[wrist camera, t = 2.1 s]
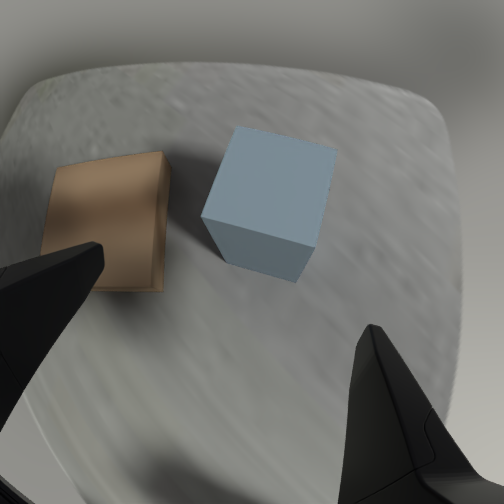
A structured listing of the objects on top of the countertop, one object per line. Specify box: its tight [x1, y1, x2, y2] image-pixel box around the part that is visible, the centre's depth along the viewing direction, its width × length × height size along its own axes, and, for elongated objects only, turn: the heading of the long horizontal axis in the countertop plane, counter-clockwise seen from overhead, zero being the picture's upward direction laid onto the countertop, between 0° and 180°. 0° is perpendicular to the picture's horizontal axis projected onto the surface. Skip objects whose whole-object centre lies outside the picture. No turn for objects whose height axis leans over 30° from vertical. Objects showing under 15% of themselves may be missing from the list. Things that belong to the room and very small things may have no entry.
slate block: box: [201, 126, 337, 283], centre depth 18 cm, size 5×5×9 cm
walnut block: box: [40, 151, 172, 292], centre depth 22 cm, size 10×10×3 cm
